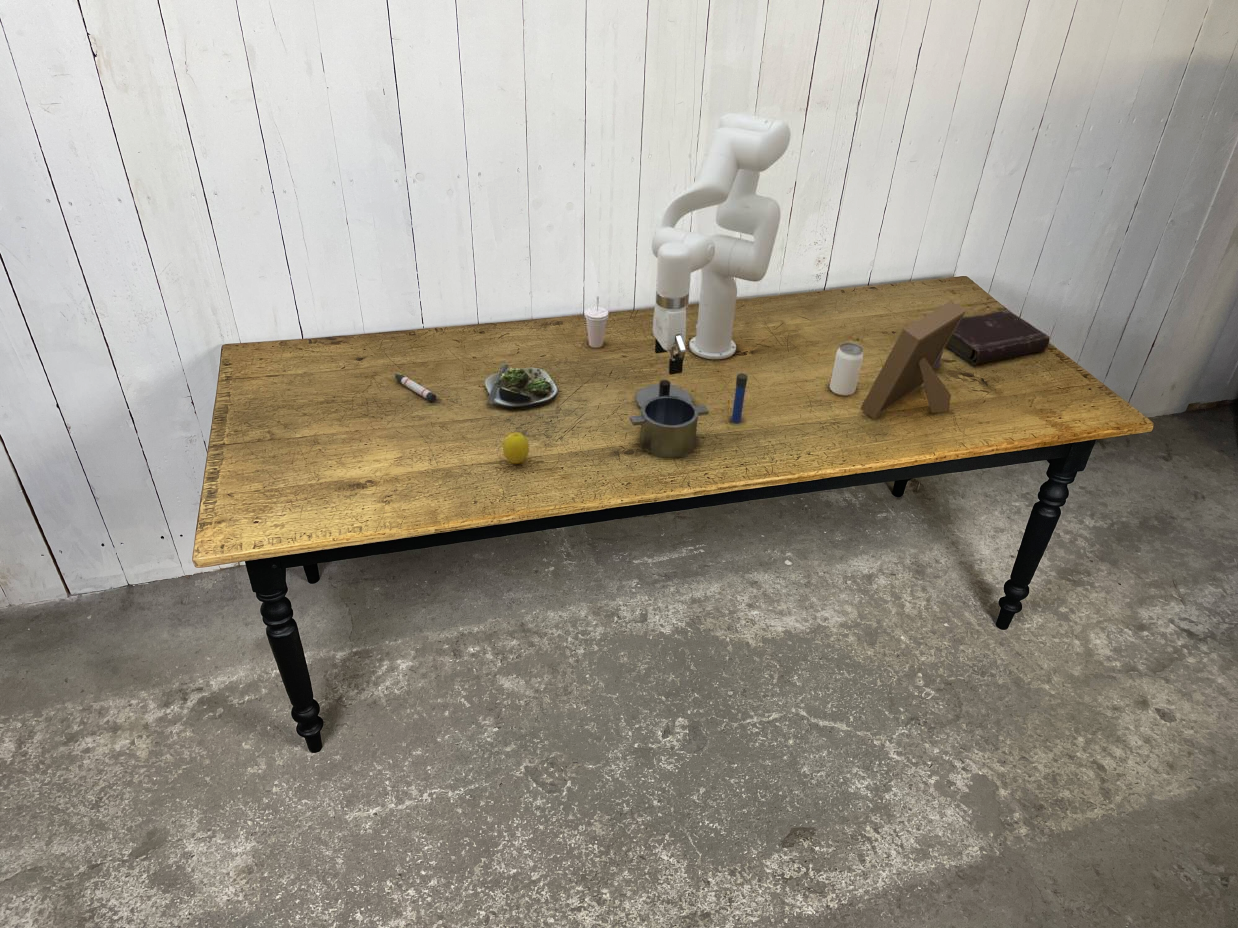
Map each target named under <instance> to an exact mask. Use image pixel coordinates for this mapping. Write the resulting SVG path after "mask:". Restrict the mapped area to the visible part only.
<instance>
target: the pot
mask: <svg viewBox="0 0 1238 928" xmlns="http://www.w3.org/2000/svg"><path fill="white" fill-rule="evenodd" d="M706 415H709V409H708V408H707V406H706V405H705V404H704V405H697V406H696V405H695V404H694V403H693V402H690V401H688V400H686V399H683V398H680V397H676V396H660V397H654V398H652V399H650V400H648V401H646V402H645V404H644V405H643V406H642V409H641V413H640V414H637V415H631V416H629V421H630V423H631V424H632V426H640V431H639V444H640V446H641V448H643V450H644V451H645V452H647V453H649V454H650V455H652V456H655V457H658V458H664V459H677V458H681V457H684V456H687V455H688V454H690V453H691V452H692V451H693V450H694V449H695V446H696V440H697V431H698V430H697V428H698V420H699V419H698V418H699V417H700V416H706Z"/></svg>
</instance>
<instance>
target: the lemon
mask: <svg viewBox="0 0 1238 928" xmlns="http://www.w3.org/2000/svg"><path fill="white" fill-rule="evenodd" d="M502 451H503V455H504V457H505V459H506V460H507V461H508V462H510V463H512V464H520V463H523V462H524V461H525V460H526V459H527V458H528V456H529V452H530V447H529V442H528V439H527V437H526V436H525V435H524V434H523V433H521V432H520V433H519V432H511V433H509V434H508V435H507V436H506V437H505V439H504V441H503V445H502Z"/></svg>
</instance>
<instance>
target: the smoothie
mask: <svg viewBox="0 0 1238 928" xmlns="http://www.w3.org/2000/svg"><path fill="white" fill-rule="evenodd" d="M599 299H600V296H599V295H596V300H595V301H596V303H595V304H596V305H595V306H590V307H588V308H586V309H585V310H584V318H585V323H586V330H587V339H588V345H589V347H591V348H595V349H597V348H601V347H602V346H603V345H604V339H605V332H606V326H607V320H608V318H609V316H610V315H609V310H608V309H607V308H604V307H603V306H600V305H599V303H600V300H599Z"/></svg>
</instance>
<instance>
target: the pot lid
mask: <svg viewBox="0 0 1238 928" xmlns="http://www.w3.org/2000/svg"><path fill="white" fill-rule="evenodd" d="M660 396H676V397H680V398H683V399H686V400H688V401H690V402H691V403H693V402H692V401H693V400H692V396H691V395H690V393H689V392H688V391H687V390H685V389H684V388H682V387H681V386H677V385H673V384H671V381H670V380H667V379H661V380H660V381H659V383H654V384H650V385H647V386H644V387H642V388H640V390H638V392H637V393H636V395H635V402H636V405H637V406H638V407H639V408H640V409H641V410H642V406H643V405H644V404H645V402H646V401H648V400H650V399H652V398H654V397H660Z"/></svg>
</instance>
